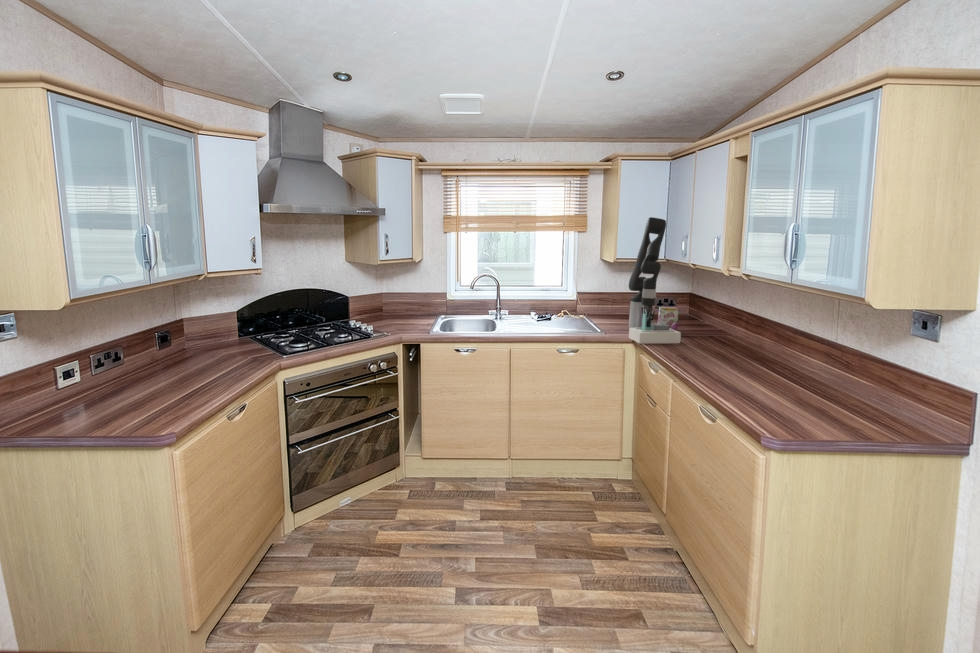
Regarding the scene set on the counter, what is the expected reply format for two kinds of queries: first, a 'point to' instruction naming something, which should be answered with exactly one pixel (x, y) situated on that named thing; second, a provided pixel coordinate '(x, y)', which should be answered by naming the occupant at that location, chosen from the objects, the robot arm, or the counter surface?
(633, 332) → the white tray
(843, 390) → the counter surface
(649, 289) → the robot arm
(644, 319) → the plug
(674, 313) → the candy bar box
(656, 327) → the shutter
